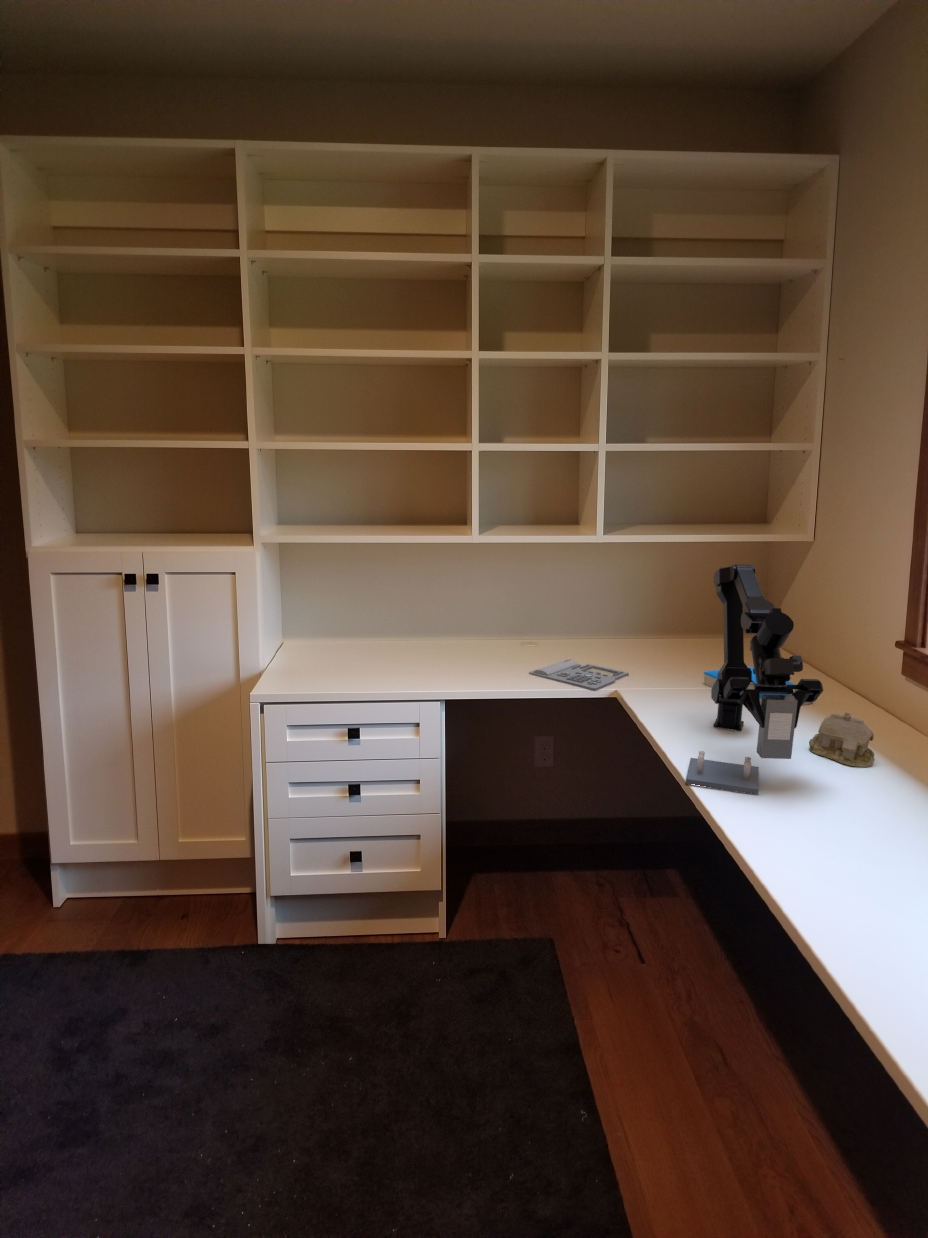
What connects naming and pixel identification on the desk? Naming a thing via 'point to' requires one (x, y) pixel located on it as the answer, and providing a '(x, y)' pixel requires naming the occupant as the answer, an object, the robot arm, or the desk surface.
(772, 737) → the block
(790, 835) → the desk surface
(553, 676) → the office telephone
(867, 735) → the ceramic model
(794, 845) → the desk surface
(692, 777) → the grey pegged stand
